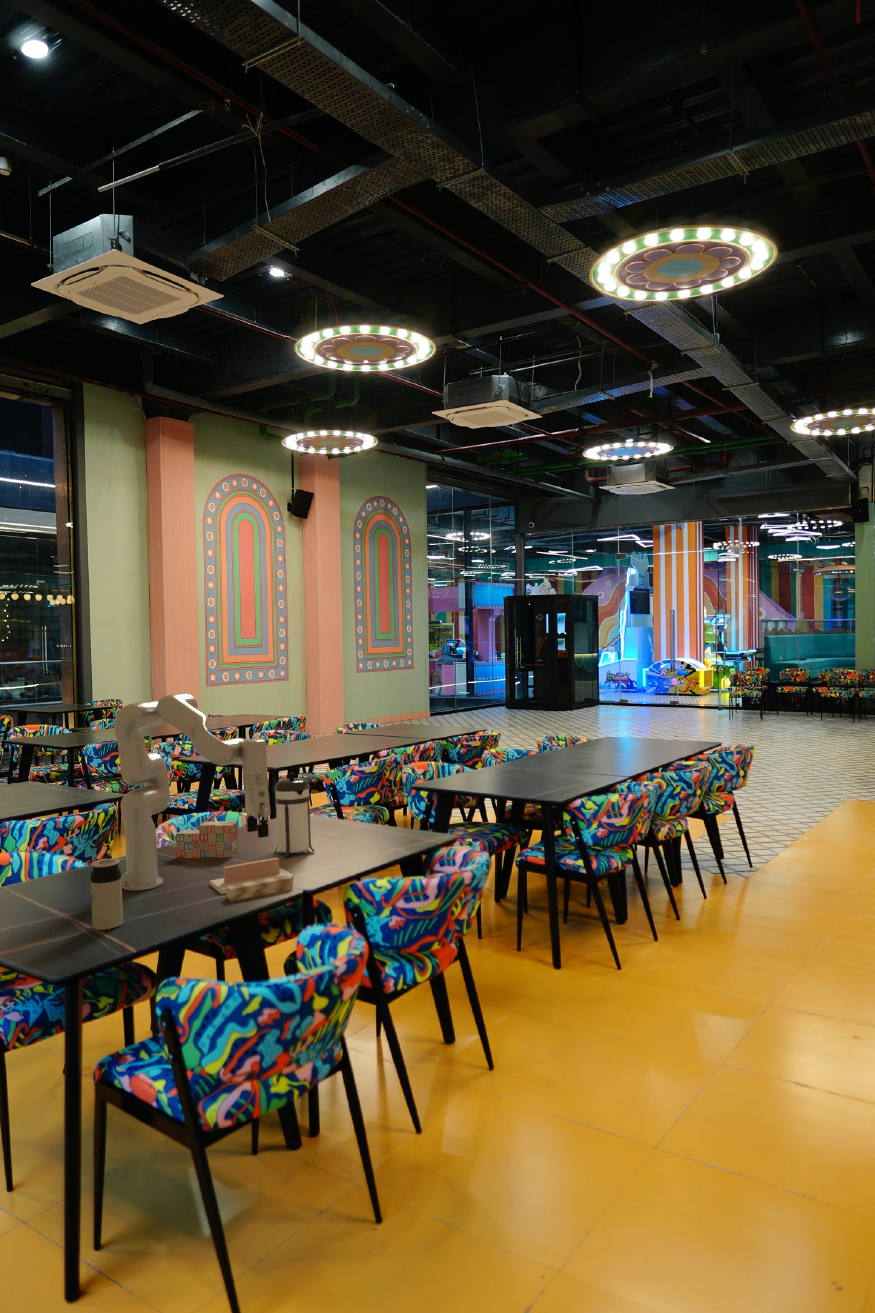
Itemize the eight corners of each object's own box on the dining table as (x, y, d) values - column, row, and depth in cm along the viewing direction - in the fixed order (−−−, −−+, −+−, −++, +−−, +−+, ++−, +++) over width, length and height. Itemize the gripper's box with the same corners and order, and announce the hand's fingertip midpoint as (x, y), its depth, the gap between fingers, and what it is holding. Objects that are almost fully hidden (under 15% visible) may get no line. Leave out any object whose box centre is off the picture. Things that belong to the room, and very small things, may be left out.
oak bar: (230, 902, 251) (230, 889, 251) (226, 899, 254) (226, 886, 254) (293, 890, 262) (292, 877, 262) (288, 887, 265) (287, 874, 265)
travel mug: (127, 920, 237) (124, 857, 236) (117, 930, 229) (114, 865, 228) (99, 921, 237) (96, 858, 236) (88, 931, 229) (85, 866, 228)
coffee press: (322, 848, 312) (319, 768, 312) (304, 859, 297) (301, 775, 296) (280, 846, 317) (277, 768, 317) (260, 857, 302) (257, 775, 301)
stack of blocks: (176, 858, 305) (175, 825, 305) (183, 854, 311) (182, 821, 311) (232, 858, 303) (231, 824, 302) (238, 854, 309) (237, 821, 309)
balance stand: (221, 894, 259) (220, 873, 259) (210, 885, 269) (209, 865, 269) (294, 880, 271) (293, 860, 271) (280, 872, 282) (279, 853, 281)
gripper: (277, 781, 252) (279, 837, 252) (257, 774, 267) (259, 827, 267) (253, 784, 248) (255, 841, 249) (234, 777, 263) (237, 831, 263)
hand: (257, 834), depth 258 cm, fingers open, 9 cm apart
